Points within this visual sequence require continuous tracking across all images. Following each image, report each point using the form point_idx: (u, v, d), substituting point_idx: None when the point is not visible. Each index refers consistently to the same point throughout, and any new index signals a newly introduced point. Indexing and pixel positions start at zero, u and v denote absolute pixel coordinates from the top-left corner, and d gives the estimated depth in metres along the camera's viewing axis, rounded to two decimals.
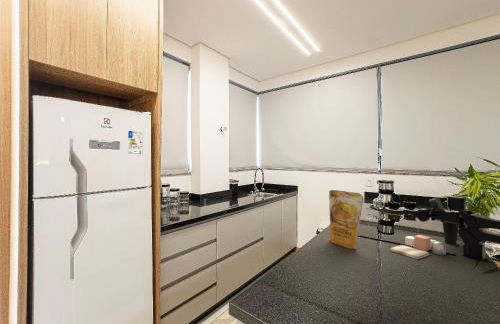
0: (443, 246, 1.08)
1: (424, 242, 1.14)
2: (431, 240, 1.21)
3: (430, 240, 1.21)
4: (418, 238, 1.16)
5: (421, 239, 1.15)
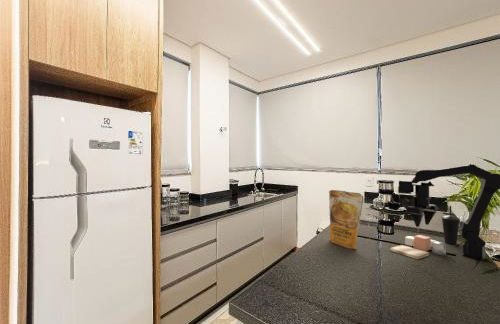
0: (443, 246, 1.08)
1: (424, 242, 1.14)
2: (431, 240, 1.21)
3: (430, 240, 1.21)
4: (418, 238, 1.16)
5: (421, 239, 1.15)
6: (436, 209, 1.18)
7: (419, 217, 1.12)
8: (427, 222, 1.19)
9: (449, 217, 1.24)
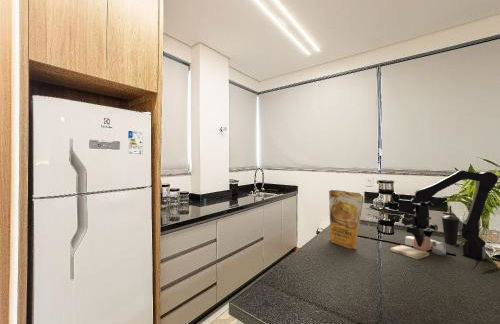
0: (443, 246, 1.08)
1: (424, 242, 1.14)
2: (431, 240, 1.21)
3: (430, 240, 1.21)
4: None
5: None
6: (436, 229, 1.18)
7: (421, 237, 1.13)
8: None
9: (449, 217, 1.24)
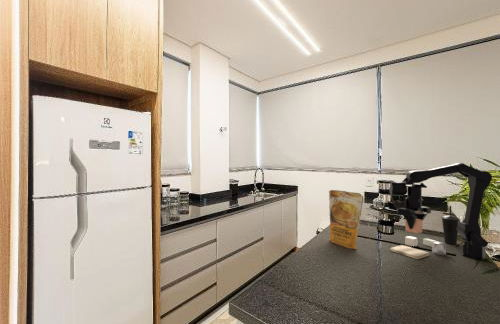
0: (443, 246, 1.08)
1: (415, 224, 1.11)
2: (431, 240, 1.21)
3: (430, 240, 1.21)
4: None
5: None
6: (429, 211, 1.15)
7: (412, 219, 1.10)
8: None
9: (449, 217, 1.24)
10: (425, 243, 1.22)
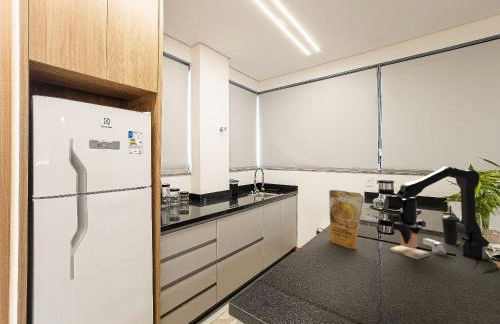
0: (443, 246, 1.08)
1: (411, 239, 1.08)
2: (431, 240, 1.21)
3: (430, 240, 1.21)
4: None
5: None
6: (424, 225, 1.12)
7: (408, 234, 1.07)
8: None
9: (449, 217, 1.24)
10: (425, 243, 1.23)
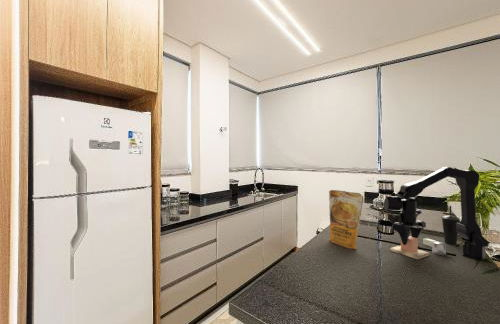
0: (443, 246, 1.08)
1: (411, 243, 1.08)
2: (431, 240, 1.21)
3: (430, 240, 1.21)
4: None
5: None
6: (424, 226, 1.12)
7: (406, 235, 1.07)
8: None
9: (449, 217, 1.24)
10: (425, 243, 1.23)
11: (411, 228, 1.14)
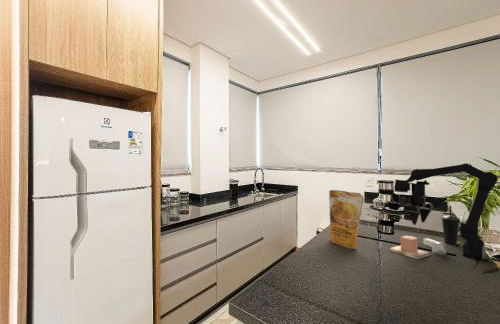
0: (443, 246, 1.08)
1: (411, 243, 1.08)
2: (431, 240, 1.21)
3: (430, 240, 1.21)
4: (405, 239, 1.10)
5: (407, 240, 1.09)
6: (431, 207, 1.21)
7: (416, 215, 1.15)
8: (423, 220, 1.22)
9: (449, 217, 1.24)
10: (425, 243, 1.23)
11: (420, 210, 1.24)
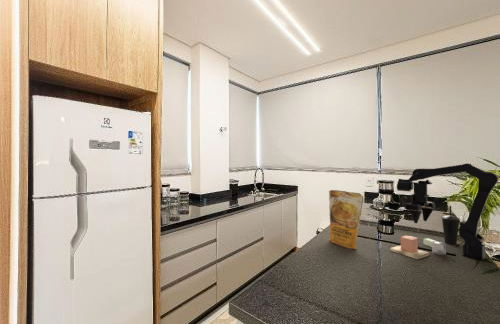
0: (443, 246, 1.08)
1: (411, 243, 1.08)
2: (431, 240, 1.21)
3: (430, 240, 1.21)
4: (405, 239, 1.10)
5: (407, 240, 1.09)
6: (434, 206, 1.23)
7: (417, 214, 1.17)
8: (425, 219, 1.24)
9: (449, 217, 1.24)
10: (425, 243, 1.23)
11: (422, 209, 1.26)
